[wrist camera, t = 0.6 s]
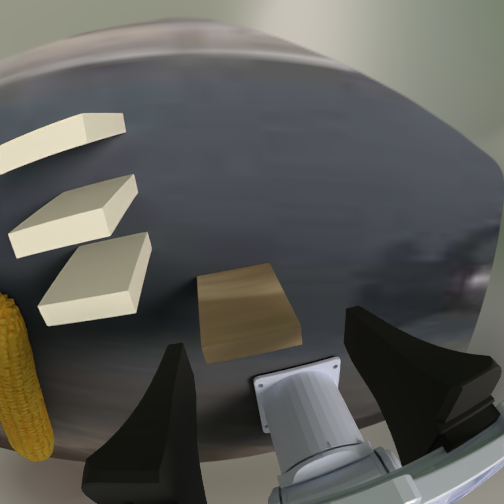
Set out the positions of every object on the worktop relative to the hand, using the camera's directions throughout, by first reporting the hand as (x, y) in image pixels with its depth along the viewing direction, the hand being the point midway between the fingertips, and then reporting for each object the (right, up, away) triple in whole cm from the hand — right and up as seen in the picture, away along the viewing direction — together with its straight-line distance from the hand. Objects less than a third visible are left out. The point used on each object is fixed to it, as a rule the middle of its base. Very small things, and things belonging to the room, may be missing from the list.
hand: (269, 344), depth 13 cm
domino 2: (-10, +8, +4) cm, 13 cm away
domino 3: (-10, +4, +6) cm, 12 cm away
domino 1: (-11, +11, +3) cm, 16 cm away
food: (-23, -8, +10) cm, 26 cm away
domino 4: (-2, +2, +9) cm, 9 cm away
